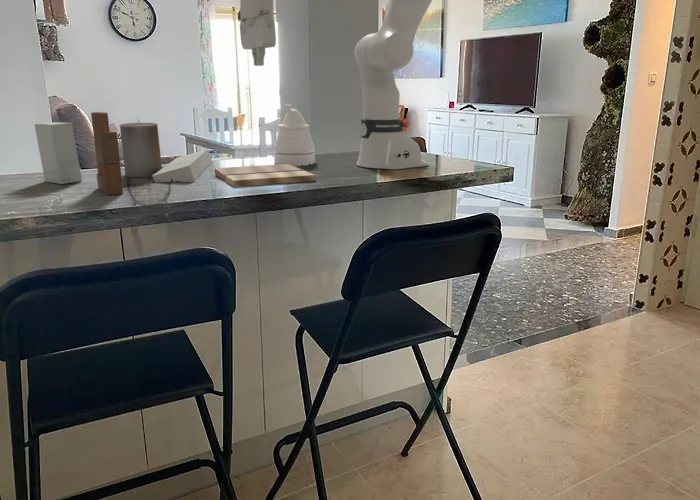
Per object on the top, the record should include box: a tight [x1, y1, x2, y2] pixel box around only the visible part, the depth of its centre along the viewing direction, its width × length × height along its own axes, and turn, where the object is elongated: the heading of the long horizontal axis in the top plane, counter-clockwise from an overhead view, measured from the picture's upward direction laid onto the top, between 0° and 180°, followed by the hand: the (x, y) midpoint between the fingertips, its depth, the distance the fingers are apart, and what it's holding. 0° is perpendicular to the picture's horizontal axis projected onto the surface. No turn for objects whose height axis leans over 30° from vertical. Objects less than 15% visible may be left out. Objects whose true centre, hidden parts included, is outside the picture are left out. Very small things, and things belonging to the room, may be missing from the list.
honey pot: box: [273, 104, 316, 167], centre depth 182 cm, size 13×13×18 cm
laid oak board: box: [225, 170, 317, 188], centre depth 151 cm, size 22×8×2 cm, turn 116°
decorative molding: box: [152, 148, 213, 183], centre depth 166 cm, size 34×5×10 cm
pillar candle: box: [118, 119, 163, 178], centre depth 157 cm, size 10×10×15 cm
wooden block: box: [90, 111, 124, 196], centre depth 134 cm, size 4×11×18 cm, turn 33°
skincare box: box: [34, 121, 83, 185], centre depth 146 cm, size 8×6×15 cm
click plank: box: [214, 164, 303, 182], centre depth 160 cm, size 22×10×2 cm, turn 116°
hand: (258, 65), depth 161 cm, fingers closed
